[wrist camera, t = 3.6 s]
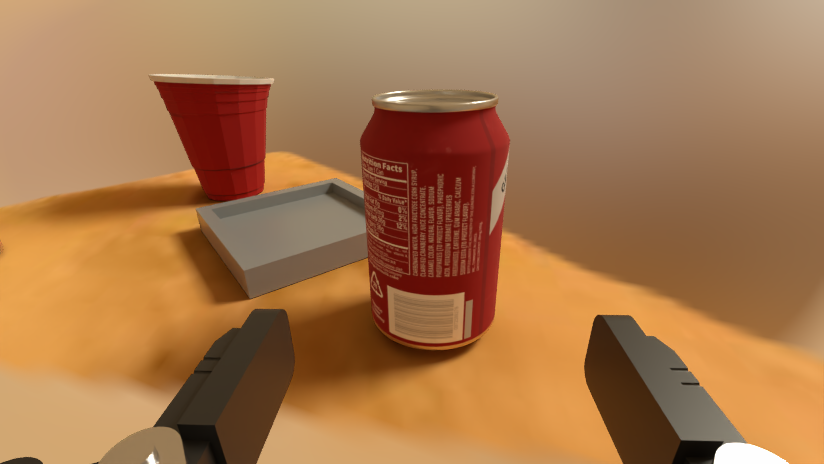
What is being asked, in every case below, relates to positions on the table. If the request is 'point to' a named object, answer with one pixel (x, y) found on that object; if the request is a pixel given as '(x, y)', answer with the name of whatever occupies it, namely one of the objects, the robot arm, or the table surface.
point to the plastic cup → (220, 129)
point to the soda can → (434, 214)
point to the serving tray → (287, 234)
